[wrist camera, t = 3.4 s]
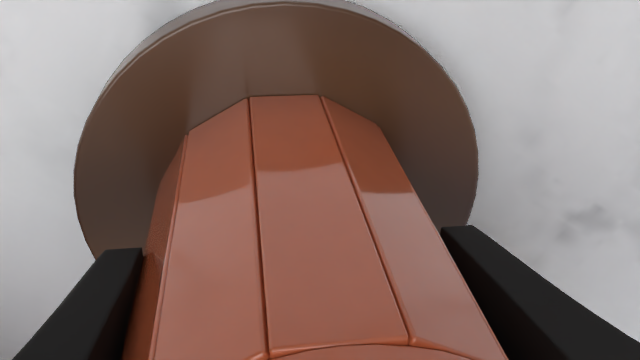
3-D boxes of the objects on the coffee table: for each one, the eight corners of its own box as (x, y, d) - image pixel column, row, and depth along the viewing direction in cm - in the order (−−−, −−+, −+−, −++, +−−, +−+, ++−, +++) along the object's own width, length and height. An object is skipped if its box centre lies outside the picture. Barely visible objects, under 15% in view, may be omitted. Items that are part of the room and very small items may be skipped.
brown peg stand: (436, 305, 16) (534, 518, 11) (120, 333, 15) (61, 589, 9) (496, -12, 11) (720, 100, 6) (38, -10, 10) (-163, 132, 5)
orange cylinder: (390, 288, 14) (504, 591, 8) (175, 305, 13) (134, 652, 7) (415, 90, 11) (614, 342, 5) (143, 99, 10) (36, 401, 5)
